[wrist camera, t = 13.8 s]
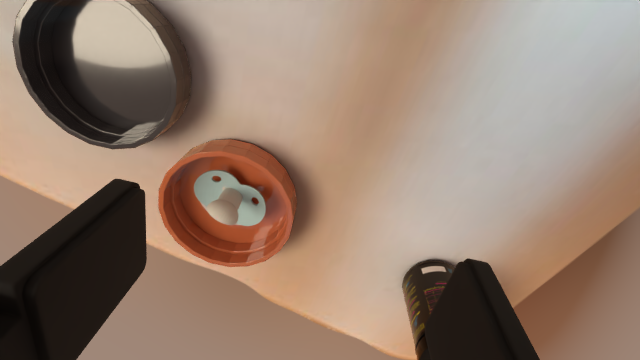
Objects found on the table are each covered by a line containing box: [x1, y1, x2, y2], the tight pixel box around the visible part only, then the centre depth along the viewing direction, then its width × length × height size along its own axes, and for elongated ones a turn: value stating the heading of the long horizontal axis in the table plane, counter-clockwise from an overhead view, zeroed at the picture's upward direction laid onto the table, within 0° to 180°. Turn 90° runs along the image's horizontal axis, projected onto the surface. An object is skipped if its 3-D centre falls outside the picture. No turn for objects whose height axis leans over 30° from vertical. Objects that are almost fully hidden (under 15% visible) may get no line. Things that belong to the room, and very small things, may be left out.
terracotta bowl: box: [159, 139, 297, 267], centre depth 35 cm, size 13×13×4 cm
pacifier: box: [194, 170, 266, 226], centre depth 33 cm, size 7×6×6 cm
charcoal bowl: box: [13, 0, 191, 149], centre depth 30 cm, size 13×13×4 cm
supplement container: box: [402, 260, 455, 360], centre depth 36 cm, size 7×7×10 cm
